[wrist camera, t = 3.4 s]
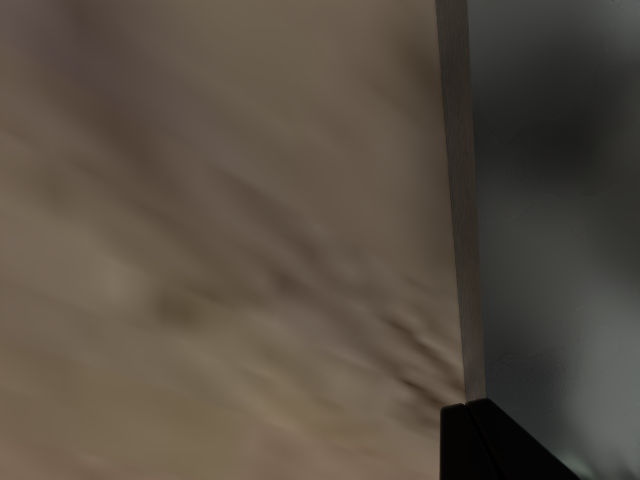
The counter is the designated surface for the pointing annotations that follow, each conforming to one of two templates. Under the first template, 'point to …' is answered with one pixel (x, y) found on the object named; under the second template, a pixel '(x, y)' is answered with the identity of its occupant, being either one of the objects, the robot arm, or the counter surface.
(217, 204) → the counter surface
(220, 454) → the counter surface
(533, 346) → the levelling base
